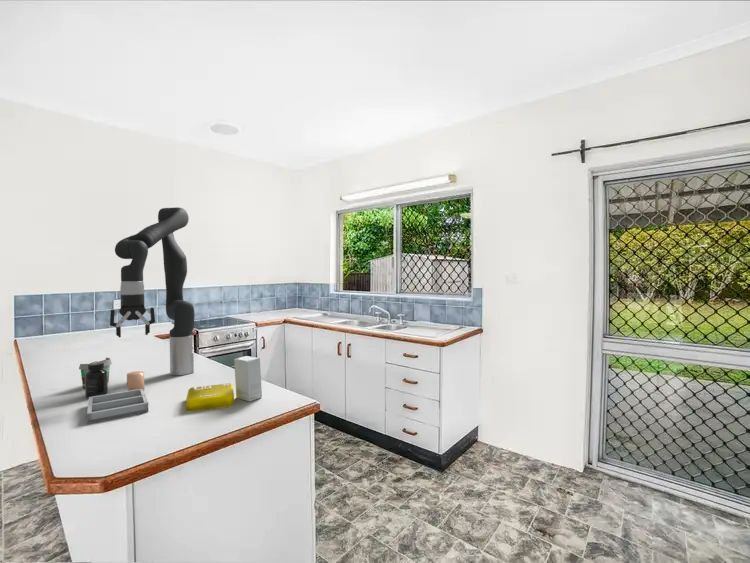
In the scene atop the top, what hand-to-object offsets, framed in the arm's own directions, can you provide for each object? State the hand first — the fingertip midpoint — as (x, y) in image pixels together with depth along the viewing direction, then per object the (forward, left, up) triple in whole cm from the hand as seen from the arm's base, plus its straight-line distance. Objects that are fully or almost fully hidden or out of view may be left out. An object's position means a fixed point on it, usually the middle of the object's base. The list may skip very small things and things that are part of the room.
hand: (133, 335), depth 140 cm
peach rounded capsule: (-1, 0, -22) cm, 22 cm away
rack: (+5, +15, -22) cm, 27 cm away
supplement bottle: (+11, -7, -22) cm, 26 cm away
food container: (+10, -22, -22) cm, 33 cm away
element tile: (-21, +26, -23) cm, 41 cm away
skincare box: (-34, +30, -22) cm, 51 cm away
